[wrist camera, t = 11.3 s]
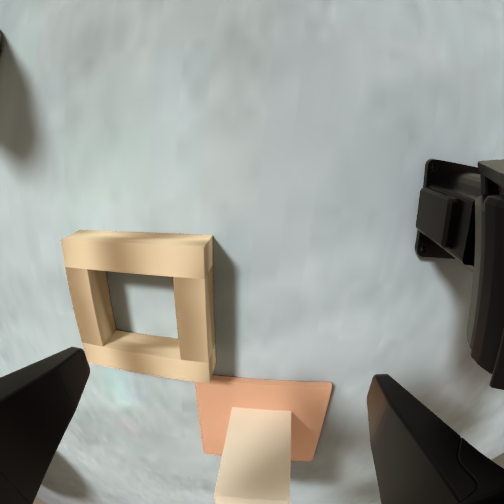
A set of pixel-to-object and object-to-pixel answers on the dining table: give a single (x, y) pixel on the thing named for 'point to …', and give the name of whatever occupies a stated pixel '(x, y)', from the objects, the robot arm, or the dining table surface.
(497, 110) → the dining table surface
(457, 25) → the dining table surface
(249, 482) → the cream block
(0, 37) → the supplement bottle
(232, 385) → the terracotta coaster
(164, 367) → the birch pocket holder
